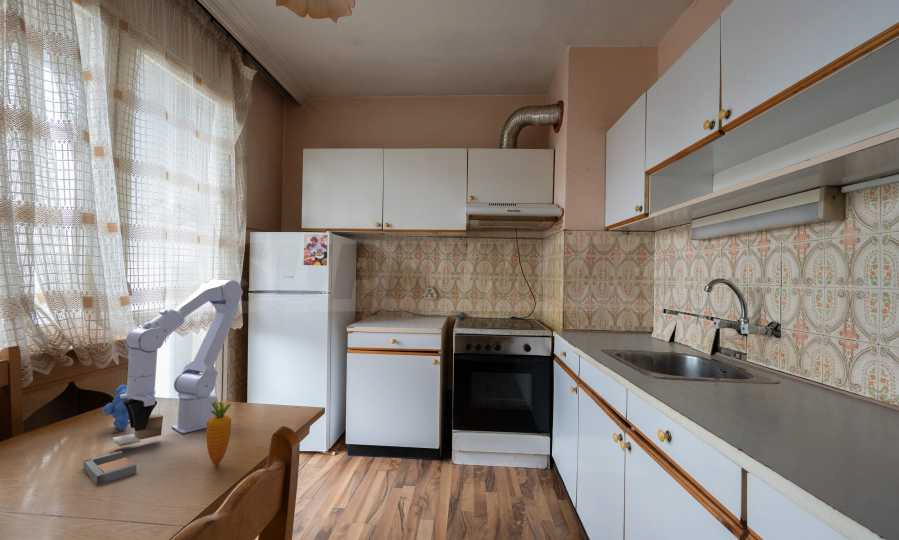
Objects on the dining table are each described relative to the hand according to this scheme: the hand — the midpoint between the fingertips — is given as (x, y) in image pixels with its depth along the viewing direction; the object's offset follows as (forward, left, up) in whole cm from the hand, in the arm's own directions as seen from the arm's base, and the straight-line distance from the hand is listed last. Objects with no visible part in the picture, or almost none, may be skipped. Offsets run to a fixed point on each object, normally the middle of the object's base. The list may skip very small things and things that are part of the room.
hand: (138, 428), depth 99 cm
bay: (+7, +11, -4) cm, 14 cm away
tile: (+7, +11, -5) cm, 14 cm away
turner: (0, 0, -3) cm, 3 cm away
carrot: (-8, +26, -5) cm, 28 cm away
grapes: (0, -18, -5) cm, 19 cm away
